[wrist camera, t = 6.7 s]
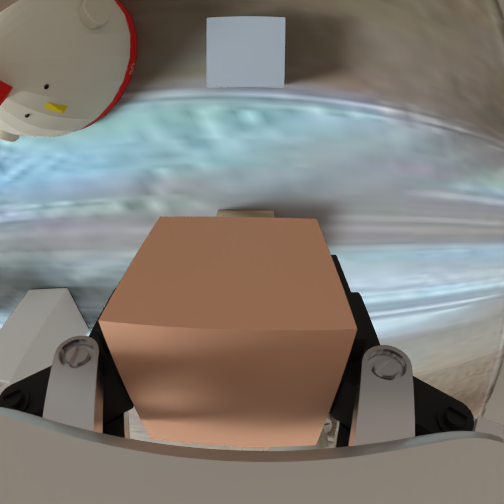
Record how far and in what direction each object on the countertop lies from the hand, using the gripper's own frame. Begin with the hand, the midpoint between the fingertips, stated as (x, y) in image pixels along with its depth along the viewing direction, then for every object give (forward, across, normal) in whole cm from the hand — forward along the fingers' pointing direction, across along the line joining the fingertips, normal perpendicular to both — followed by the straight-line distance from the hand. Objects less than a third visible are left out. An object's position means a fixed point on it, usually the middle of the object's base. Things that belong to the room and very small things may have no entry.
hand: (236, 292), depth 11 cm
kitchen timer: (+18, +16, -11) cm, 26 cm away
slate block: (+18, 0, -9) cm, 20 cm away
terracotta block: (+1, 0, 0) cm, 1 cm away
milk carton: (+19, +25, +18) cm, 36 cm away
